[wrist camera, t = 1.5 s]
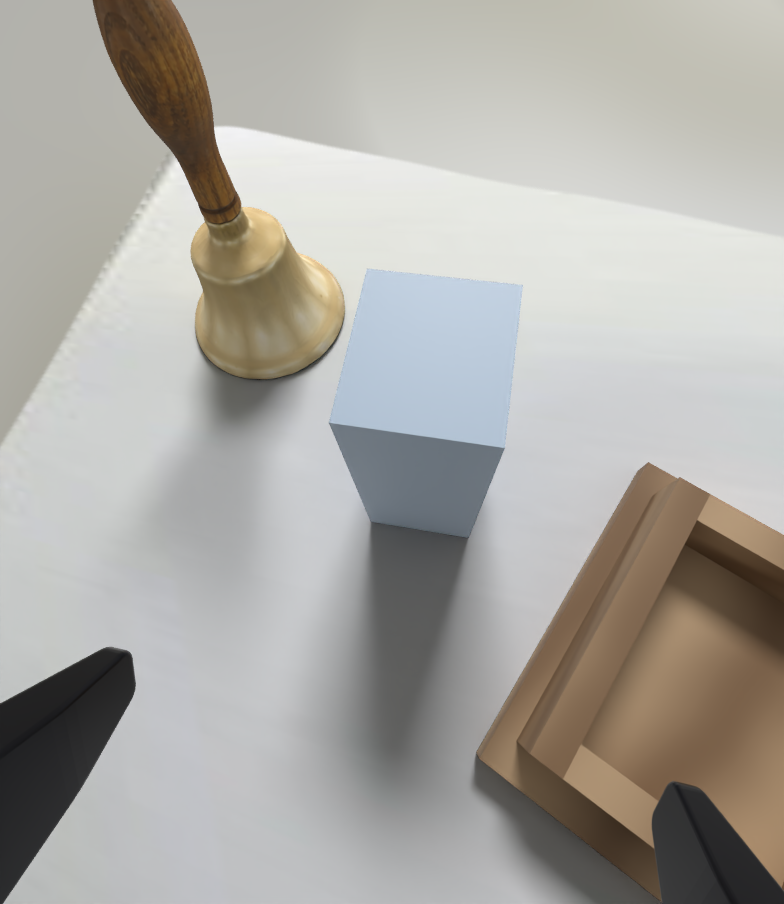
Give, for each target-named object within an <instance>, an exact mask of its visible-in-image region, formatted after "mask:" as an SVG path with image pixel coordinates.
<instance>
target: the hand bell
mask: <svg viewBox="0 0 784 904" xmlns="http://www.w3.org/2000/svg"><path fill="white" fill-rule="evenodd" d="M93 5H94V9H95V13H96V17H97V21H98V25H99V28H100V31H101V35H102V37H103V40H104V44H105V47H106V50H107V52H108V55H109V57H110V59H111V62H112V64H113V66H114V68H115V70H116V72H117V74H118V76H119V78H120V80H121V82H122V84H123V85H124V87H125V89H126V91H127V92H128V94H129V96H130V97H131V99H132V101H133V102H134V104H135V105H136V107H137V109H138V110H139V112H140V113H141V115H142V116H143V117H144V119H145V120H146V122H147V123H148V124H149V126H150V127H151V128H152V129H153V130H154V132H155V133H156V134H157V135H158V136H159V137H160V138H161V140H162V141H164V143H165V144H166V145H167V146H168V147H169V149H170V150H171V151H172V152H173V154H174V155H175V157H176V158H177V160H178V162H179V163H180V165H181V167H182V169H183V171H184V173H185V176H186V178H187V180H188V182H189V185H190V187H191V189H192V192H193V194H194V196H195V198H196V200H197V202H198V205H199V208H200V211H201V213H202V215H203V216H204V220H205V223H203V224H202V225H201V226H200V228H199V229H198V230H197V232H196V234H195V236H194V238H193V241H192V244H191V260H192V263H193V266H194V268H195V270H196V272H197V275H198V277H199V280H200V283H201V285H202V288H203V293H202V295H201V297H200V299H199V302H198V305H197V309H196V314H195V330H196V337H197V340H198V343H199V345H200V347H201V349H202V351H203V352H204V353H205V355H206V356H207V357H208V359H209V360H210V361H211V362H212V363H213V364H215V365H216V366H217V367H219V368H220V369H222V370H224V371H225V372H227V373H230V374H232V375H235V376H238V377H243V378H250V379H271V378H278V377H281V376H285V375H289V374H292V373H295V372H297V371H299V370H301V369H303V368H305V367H306V366H308V365H309V364H311V363H312V362H314V361H315V360H317V359H318V358H319V357H321V356H322V355H323V354H324V353H325V352H326V351H327V349H328V348H329V347H330V346H331V344H332V343H333V342H334V340H335V339H336V337H337V335H338V333H339V331H340V329H341V326H342V323H343V318H344V313H345V305H344V296H343V293H342V290H341V287H340V285H339V283H338V282H337V280H336V278H335V277H334V276H333V274H332V273H331V272H330V271H329V270H328V269H327V268H325V267H324V266H323V265H322V264H320V263H319V262H317V261H316V260H314V259H312V258H310V257H308V256H305V255H302V254H299V253H297V252H296V251H295V249H294V248H293V246H292V244H291V243H290V241H289V239H288V237H287V235H286V233H285V231H284V229H283V227H282V226H281V224H280V223H279V222H278V221H277V219H276V218H274V217H273V216H272V215H270V214H269V213H267V212H265V211H262V210H260V209H256V208H251V207H241V201H240V198H239V196H238V194H237V192H236V191H235V188H234V186H233V184H232V181H231V179H230V177H229V175H228V172H227V170H226V168H225V165H224V163H223V161H222V159H221V156H220V154H219V151H218V147H217V144H216V139H215V134H214V122H213V112H212V105H211V99H210V95H209V91H208V86H207V82H206V78H205V75H204V72H203V69H202V66H201V63H200V60H199V57H198V54H197V51H196V49H195V46H194V44H193V41H192V39H191V37H190V34H189V32H188V30H187V27H186V25H185V23H184V21H183V19H182V17H181V16H180V14H179V12H178V10H177V9H176V7H175V5H174V4H173V2H172V1H171V0H93Z"/></svg>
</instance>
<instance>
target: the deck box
mask: <svg viewBox="0 0 784 904" xmlns="http://www.w3.org/2000/svg"><path fill="white" fill-rule="evenodd" d="M522 287H523V285H517V284H507V283H498V282H488V281H479V280H469V279H460V278H450V277H441V276H431V275H422V274H412V273H403V272H393V271H384V270H374V269H367V271H366V275H365V279H364V283H363V287H362V291H361V295H360V299H359V303H358V307H357V311H356V315H355V319H354V323H353V327H352V332H351V336H350V340H349V344H348V348H347V352H346V356H345V360H344V364H343V368H342V372H341V376H340V380H339V384H338V388H337V392H336V396H335V400H334V405H333V409H332V413H331V417H330V421H329V424H330V426H331V429H332V431H333V433H334V436H335V438H336V440H337V443H338V445H339V448H340V450H341V452H342V455H343V457H344V459H345V462H346V464H347V466H348V469H349V471H350V474H351V476H352V478H353V481H354V483H355V485H356V488H357V490H358V493H359V495H360V497H361V500H362V502H363V504H364V507H365V509H366V511H367V514H368V516H369V519H370V521H371V522H376V523H382V524H388V525H394V526H400V527H406V528H412V529H418V530H424V531H430V532H436V533H442V534H448V535H454V536H460V537H466V538H469V535H470V533H471V530H472V528H473V525H474V523H475V520H476V518H477V515H478V513H479V510H480V508H481V506H482V503H483V501H484V498H485V496H486V493H487V491H488V488H489V486H490V483H491V481H492V478H493V476H494V473H495V471H496V468H497V466H498V463H499V461H500V458H501V456H502V454H503V451H504V449H505V441H506V432H507V423H508V414H509V405H510V396H511V387H512V378H513V369H514V360H515V351H516V342H517V333H518V324H519V315H520V306H521V297H522Z"/></svg>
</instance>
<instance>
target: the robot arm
mask: <svg viewBox="0 0 784 904" xmlns="http://www.w3.org/2000/svg"><path fill="white" fill-rule="evenodd" d="M135 687H136V682H135V674H134V666H133V658H132V655H131V653H130V652H129V651H127V650H123V649H118V648H114V647H106V648H103V649H101V650H99V651H97V652H95V653H93V654H92V655H90V656H88V657H86V658H84V659H82V660H80V661H79V662H77V663H75V664H73V665H71V666H69V667H67V668H65V669H64V670H62V671H60V672H58V673H56V674H54V675H52V676H51V677H49V678H47V679H45V680H43V681H41V682H39V683H38V684H36V685H34V686H32V687H30V688H28V689H26V690H24V691H23V692H21V693H19V694H17V695H15V696H13V697H11V698H10V699H8V700H6V701H4V702H2V703H0V904H3V903H4V901H5V900H6V898H7V897H8V895H9V894H10V892H11V891H12V890H13V888H14V887H15V885H16V884H17V882H18V881H19V879H20V878H21V876H22V875H23V873H24V872H25V871H26V869H27V868H28V866H29V865H30V863H31V862H32V860H33V859H34V857H35V856H36V854H37V853H38V852H39V850H40V849H41V847H42V846H43V844H44V843H45V841H46V840H47V838H48V837H49V835H50V834H51V832H52V831H53V830H54V828H55V827H56V825H57V824H58V822H59V821H60V819H61V818H62V816H63V815H64V813H65V812H66V811H67V809H68V808H69V806H70V805H71V803H72V802H73V800H74V799H75V797H76V796H77V794H78V792H79V791H80V789H81V788H82V786H83V784H84V783H85V781H86V779H87V778H88V776H89V774H90V772H91V771H92V769H93V767H94V765H95V764H96V762H97V760H98V758H99V756H100V755H101V753H102V751H103V749H104V748H105V746H106V744H107V742H108V741H109V739H110V737H111V735H112V733H113V732H114V730H115V728H116V726H117V725H118V723H119V721H120V719H121V717H122V716H123V714H124V712H125V710H126V709H127V707H128V705H129V703H130V701H131V699H132V697H133V695H134V692H135ZM652 835H653V842H654V849H655V857H656V864H657V871H658V878H659V886H660V893H661V900H662V904H784V890H783V889H782V888H781V886H780V885H779V884H778V883H777V881H776V880H775V879H774V878H773V876H772V875H771V874H770V873H769V872H768V870H767V869H766V868H765V867H764V865H763V864H762V863H761V862H760V860H759V859H758V858H757V857H756V855H755V854H754V853H753V852H752V850H751V849H750V848H749V847H748V845H747V844H746V843H745V842H744V841H743V839H742V838H741V837H740V836H739V834H738V833H737V832H736V831H735V829H734V828H733V827H732V826H731V824H730V823H729V822H728V821H727V819H726V818H725V817H724V816H723V814H722V813H721V812H720V811H719V810H718V808H717V807H716V806H715V805H714V803H713V802H712V801H711V800H710V798H709V797H708V796H707V795H706V794H705V792H704V791H702V790H701V789H700V788H698V787H696V786H694V785H689V784H685V783H681V782H677V781H672V782H670V783H668V785H667V786H666V788H665V790H664V792H663V794H662V796H661V798H660V800H659V802H658V804H657V806H656V808H655V809H654V812H653V815H652Z"/></svg>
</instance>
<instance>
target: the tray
mask: <svg viewBox="0 0 784 904" xmlns="http://www.w3.org/2000/svg"><path fill="white" fill-rule="evenodd" d="M476 753H477V755H478V757H479V759H480V760H482V761H483V762H484V763H485V764H487V765H488V766H489V767H491V768H492V769H493V770H494V771H496V772H497V773H498V774H499V775H501V776H502V777H503V778H504V779H506V780H507V781H508V782H510V783H511V784H512V785H513V786H515V787H516V788H517V789H518V790H520V791H521V792H522V793H524V794H525V795H526V796H527V797H529V798H530V799H531V800H532V801H534V802H535V803H536V804H537V805H539V806H540V807H541V808H543V809H544V810H545V811H546V812H548V813H549V814H550V815H551V816H553V817H554V818H555V819H557V820H558V821H559V822H560V823H562V824H563V825H564V826H565V827H567V828H568V829H569V830H571V831H572V832H573V833H574V834H576V835H577V836H578V837H579V838H581V839H582V840H583V841H584V842H586V843H587V844H588V845H590V846H591V847H592V848H593V849H595V850H596V851H597V852H598V853H600V854H601V855H602V856H604V857H605V858H606V859H607V860H609V861H610V862H611V863H612V864H614V865H615V866H616V867H617V868H619V869H620V870H621V871H623V872H624V873H625V874H626V875H628V876H629V877H630V878H631V879H633V880H634V881H635V882H637V883H638V884H639V885H640V886H642V887H643V888H644V889H645V890H647V891H648V892H649V893H650V894H652V895H653V896H654V897H656V898H657V899H658V900H659V901H661V902H662V900H661V893H660V886H659V878H658V871H657V864H656V857H655V849H654V842H653V835H652V815H653V812H654V809H655V808H656V806H657V804H658V802H659V800H660V798H661V796H662V794H663V792H664V790H665V788H666V786H667V785H668V783H670V782H672V781H677V782H681V783H685V784H689V785H694V786H696V787H698V788H700V789H701V790H702V791H704V792H705V794H706V795H707V796H708V797H709V798H710V800H711V801H712V802H713V803H714V805H715V806H716V807H717V808H718V810H719V811H720V812H721V813H722V814H723V816H724V817H725V818H726V819H727V821H728V822H729V823H730V824H731V826H732V827H733V828H734V829H735V831H736V832H737V833H738V834H739V836H740V837H741V838H742V839H743V841H744V842H745V843H746V844H747V845H748V847H749V848H750V849H751V850H752V852H753V853H754V854H755V855H756V857H757V858H758V859H759V860H760V862H761V863H762V864H763V865H764V867H765V868H766V869H767V870H768V872H769V873H770V874H771V875H772V876H773V878H774V879H775V880H776V881H777V883H778V884H779V885H780V886H781V888H782V889H783V890H784V535H782V534H781V533H779V532H777V531H775V530H774V529H772V528H770V527H768V526H766V525H765V524H763V523H761V522H759V521H757V520H756V519H754V518H752V517H750V516H748V515H747V514H745V513H743V512H741V511H739V510H738V509H736V508H734V507H732V506H730V505H729V504H727V503H725V502H723V501H721V500H720V499H718V498H716V497H714V496H712V495H711V494H709V493H707V492H705V491H703V490H702V489H700V488H698V487H696V486H695V485H693V484H691V483H689V482H687V481H686V480H684V479H682V478H678V479H677V478H676V477H674V476H672V475H670V474H668V473H667V472H665V471H663V470H661V469H659V468H658V467H656V466H654V465H652V464H650V463H649V462H648V463H647V464H646V465H644V466H643V467H642V468H641V469H640V470H638V471H637V473H636V475H635V477H634V478H633V480H632V482H631V484H630V485H629V487H628V489H627V491H626V492H625V494H624V496H623V498H622V499H621V501H620V503H619V504H618V506H617V508H616V510H615V511H614V513H613V515H612V517H611V518H610V520H609V522H608V524H607V525H606V527H605V529H604V531H603V532H602V534H601V536H600V538H599V539H598V541H597V543H596V545H595V546H594V548H593V550H592V552H591V553H590V555H589V557H588V559H587V560H586V562H585V564H584V565H583V567H582V569H581V571H580V572H579V574H578V576H577V578H576V579H575V581H574V583H573V585H572V586H571V588H570V590H569V592H568V593H567V595H566V597H565V599H564V600H563V602H562V604H561V606H560V607H559V609H558V611H557V613H556V614H555V616H554V618H553V620H552V621H551V623H550V625H549V627H548V628H547V630H546V632H545V633H544V635H543V637H542V639H541V640H540V642H539V644H538V646H537V647H536V649H535V651H534V653H533V654H532V656H531V658H530V660H529V661H528V663H527V665H526V667H525V668H524V670H523V672H522V674H521V675H520V677H519V679H518V681H517V682H516V684H515V686H514V688H513V689H512V691H511V693H510V694H509V696H508V698H507V700H506V701H505V703H504V705H503V707H502V708H501V710H500V712H499V714H498V715H497V717H496V719H495V721H494V722H493V724H492V726H491V728H490V729H489V731H488V733H487V735H486V736H485V738H484V740H483V742H482V743H481V745H480V747H479V749H478V750H477V752H476Z"/></svg>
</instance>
